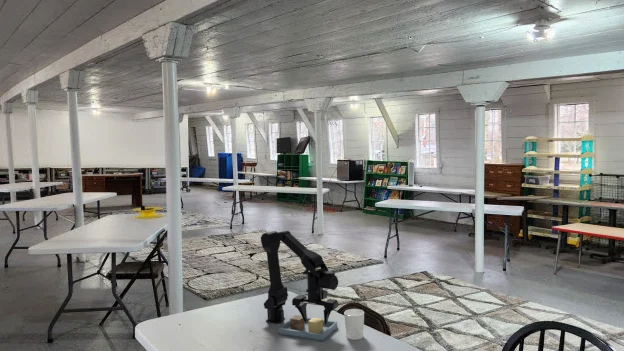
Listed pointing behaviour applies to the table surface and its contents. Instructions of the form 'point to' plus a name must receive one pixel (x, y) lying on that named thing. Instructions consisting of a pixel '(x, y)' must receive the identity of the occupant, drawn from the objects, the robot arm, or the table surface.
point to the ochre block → (315, 325)
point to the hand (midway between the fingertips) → (315, 322)
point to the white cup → (354, 323)
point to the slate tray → (305, 333)
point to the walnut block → (297, 322)
